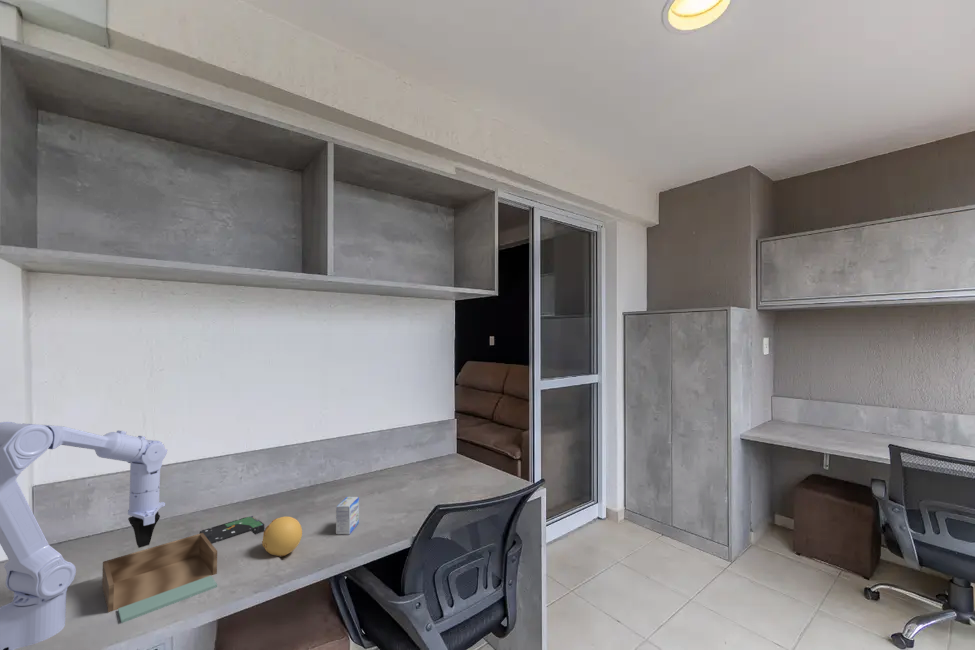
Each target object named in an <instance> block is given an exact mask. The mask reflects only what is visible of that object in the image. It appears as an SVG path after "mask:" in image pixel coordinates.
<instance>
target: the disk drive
mask: <svg viewBox="0 0 975 650" xmlns="http://www.w3.org/2000/svg"><path fill="white" fill-rule="evenodd" d="M265 526H266V525H265V523H264V522H262V521H261V520H260V519H258V518H255V517H254V515H251V516H246V517H242V518H239V519H235V520H232V521H229V522H225V523H223V524H219V525H218V524H217V525H216V526H212V527H208V528H205V529H203V530H199V534H200V533H203V534H204V535H205V536H206V537H207V539H208V540H209V541H210V543H211V544H212V545H214V544H215V543H219V542H222V541H224V540H227V539H231V538H234V537H237V536H240V535H243V534H246V533H249V532H252V534H253V535H258V534H261V533H264V531H265V529H266V527H265Z"/></svg>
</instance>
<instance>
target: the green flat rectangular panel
mask: <svg viewBox="0 0 975 650" xmlns="http://www.w3.org/2000/svg"><path fill="white" fill-rule="evenodd" d="M215 588H218V584H217V581H216V580H215V579H214V578H213V575H212V576H208V577H205V578H202V579H199V580H197V581H194V582H191V583H188V584H185V585H183V586H180V587H177V588H174V589H171V590H169V591H166V592H163V593H160V594H157V595H155V596H152V597H149V598H146V599H143V600H141V601H138V602H135V603H132V604H129V605H127V606H124V607H121V608H118V609H117V611H118V615H119V620H120V622H121V624H123V623H126V622H129V621H131V620H134V619H136V618H138V617H142V616H145V615H147V614H149V613H152V612H155V611H158V610H160V609H162V608H163V609H164V608H165V607H169V606H171V605H173V604H177V603H179V602H182V601H184V600H186V599H189V598H192V597H194V596H197V595H200V594H202V593H205V592H208V591H210V590H213V589H215Z"/></svg>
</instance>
